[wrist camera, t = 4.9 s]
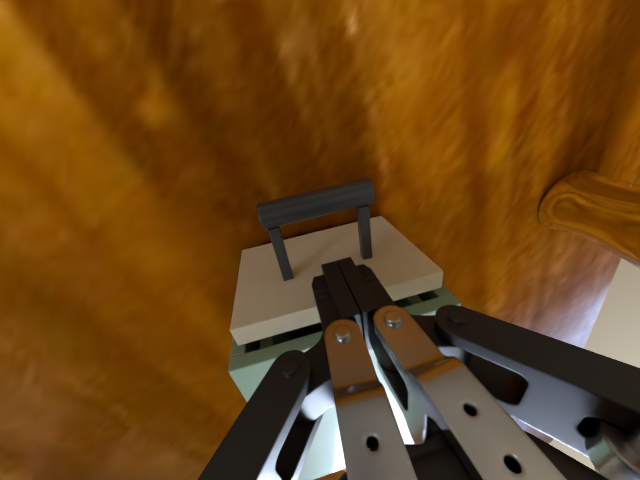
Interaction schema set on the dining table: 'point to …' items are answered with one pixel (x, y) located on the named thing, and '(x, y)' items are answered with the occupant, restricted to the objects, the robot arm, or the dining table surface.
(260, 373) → the cabinet
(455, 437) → the robot arm
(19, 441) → the dining table surface
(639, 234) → the metal cup
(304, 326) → the drawer
